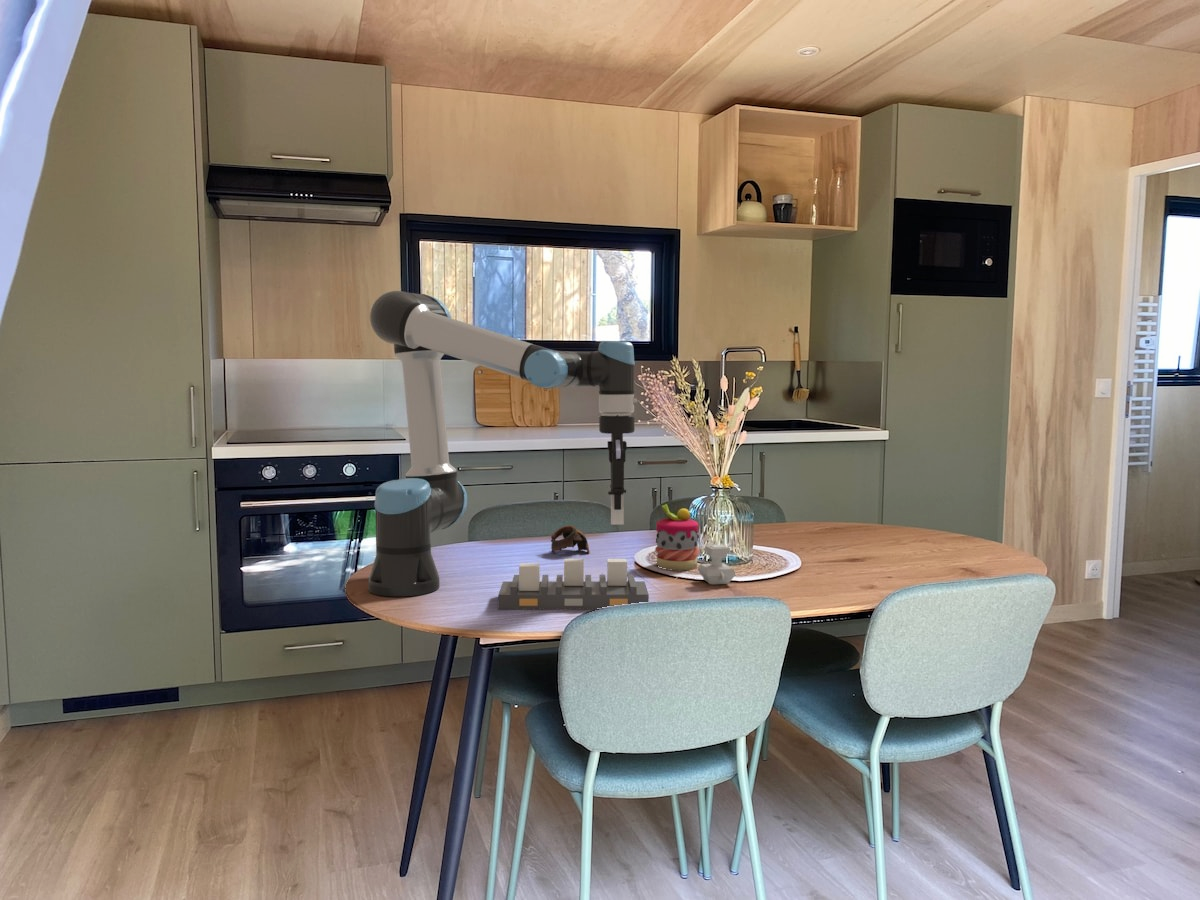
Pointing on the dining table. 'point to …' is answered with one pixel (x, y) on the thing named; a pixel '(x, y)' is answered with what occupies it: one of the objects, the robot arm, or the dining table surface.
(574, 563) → the tab middle
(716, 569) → the grey angular blocky piece
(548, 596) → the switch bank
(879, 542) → the dining table surface
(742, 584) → the dining table surface
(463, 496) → the robot arm
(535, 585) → the tab left
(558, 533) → the brown broken ring
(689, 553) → the cake
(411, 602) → the dining table surface
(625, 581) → the tab right
